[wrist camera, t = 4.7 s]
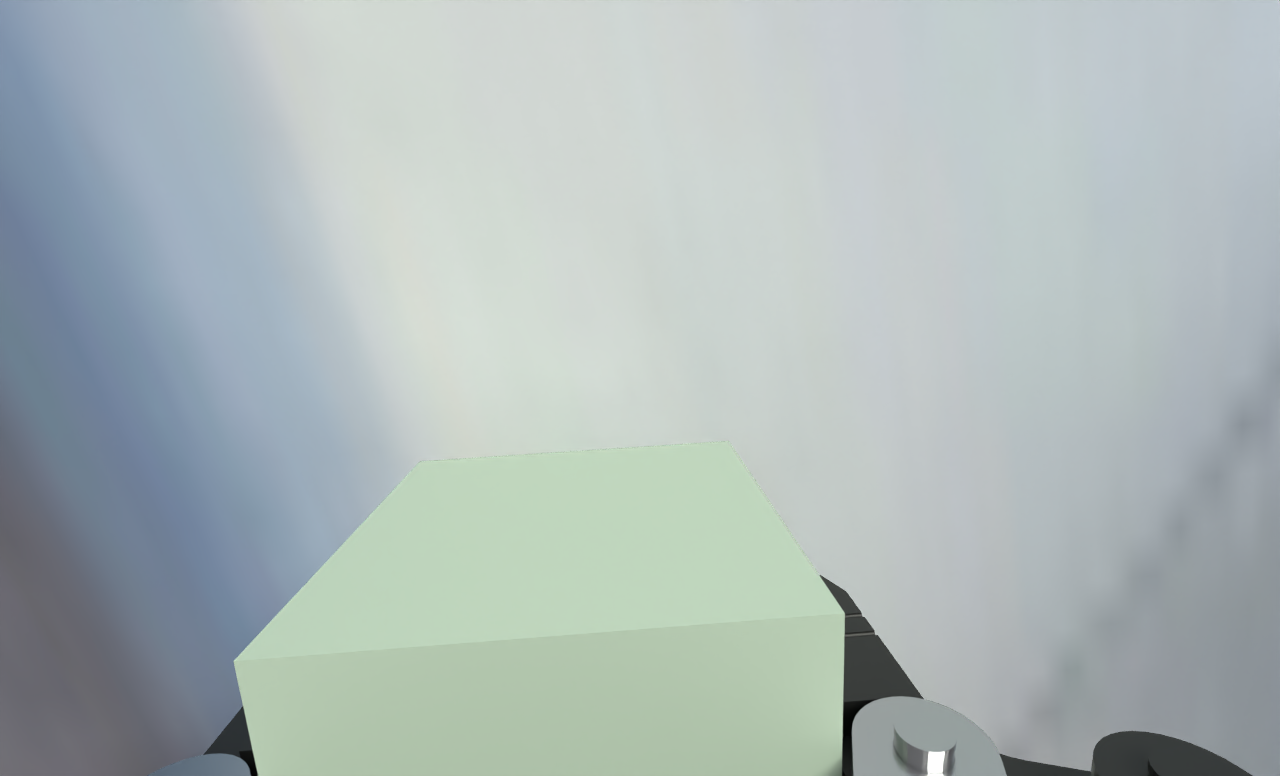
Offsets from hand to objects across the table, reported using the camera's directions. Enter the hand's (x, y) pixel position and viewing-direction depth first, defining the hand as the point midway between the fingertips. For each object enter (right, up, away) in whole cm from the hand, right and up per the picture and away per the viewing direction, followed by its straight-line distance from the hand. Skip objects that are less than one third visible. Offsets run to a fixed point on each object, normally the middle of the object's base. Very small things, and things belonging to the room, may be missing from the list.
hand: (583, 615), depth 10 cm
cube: (0, 0, +1) cm, 1 cm away
